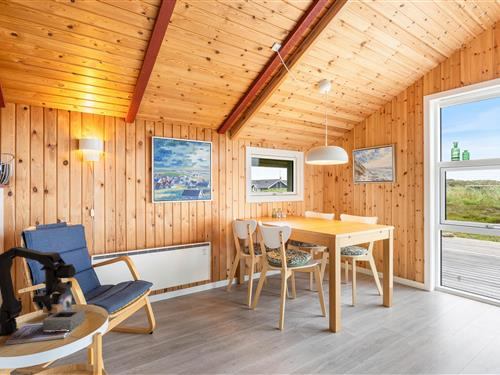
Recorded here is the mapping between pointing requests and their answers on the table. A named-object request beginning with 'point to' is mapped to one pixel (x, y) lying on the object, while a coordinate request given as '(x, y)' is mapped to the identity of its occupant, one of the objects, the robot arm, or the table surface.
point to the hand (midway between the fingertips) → (52, 309)
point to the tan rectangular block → (54, 308)
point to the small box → (65, 302)
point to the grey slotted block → (64, 320)
